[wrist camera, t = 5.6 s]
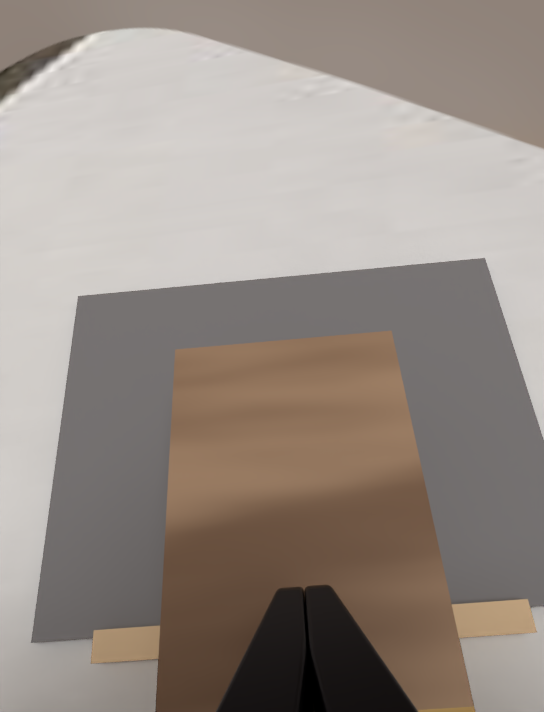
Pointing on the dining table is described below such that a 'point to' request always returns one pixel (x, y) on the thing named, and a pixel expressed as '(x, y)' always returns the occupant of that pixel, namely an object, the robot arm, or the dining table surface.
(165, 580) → the walnut block
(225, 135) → the dining table surface
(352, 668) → the robot arm
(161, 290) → the mat
